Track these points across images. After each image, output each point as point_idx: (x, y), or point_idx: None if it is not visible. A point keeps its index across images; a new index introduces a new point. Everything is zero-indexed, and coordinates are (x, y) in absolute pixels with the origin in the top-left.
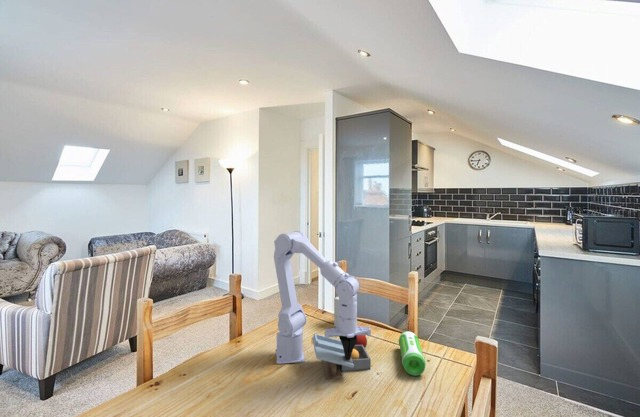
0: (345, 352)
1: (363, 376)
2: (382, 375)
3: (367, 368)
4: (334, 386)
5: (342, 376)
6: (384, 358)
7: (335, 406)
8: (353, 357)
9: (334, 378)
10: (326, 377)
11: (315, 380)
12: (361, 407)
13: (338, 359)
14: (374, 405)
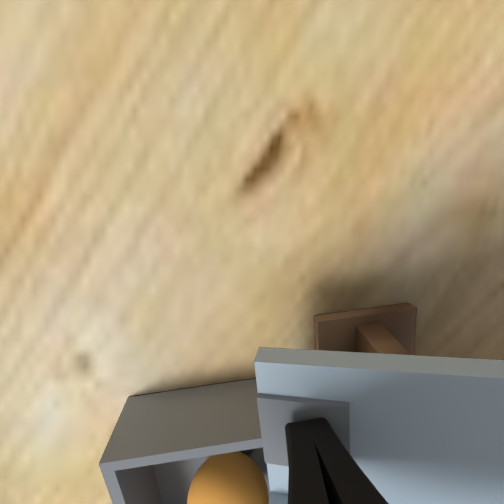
0: (376, 493)
1: (180, 332)
2: (52, 345)
3: (145, 400)
4: (376, 236)
5: (316, 320)
6: (30, 496)
7: (412, 27)
8: (231, 476)
9: (362, 309)
10: (411, 312)
11: (474, 290)
12: (234, 2)
13: (414, 405)
14: (134, 20)
